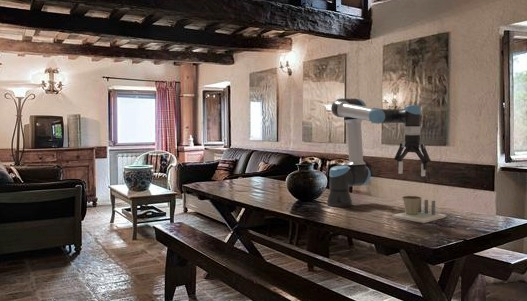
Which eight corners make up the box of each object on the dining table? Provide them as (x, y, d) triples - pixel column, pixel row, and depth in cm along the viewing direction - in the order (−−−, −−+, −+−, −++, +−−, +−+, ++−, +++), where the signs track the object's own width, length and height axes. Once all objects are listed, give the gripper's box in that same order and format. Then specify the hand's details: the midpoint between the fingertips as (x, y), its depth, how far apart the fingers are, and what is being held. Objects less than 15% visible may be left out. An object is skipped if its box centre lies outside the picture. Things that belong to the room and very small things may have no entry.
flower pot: (408, 216, 220) (408, 199, 220) (398, 212, 229) (398, 196, 229) (424, 214, 222) (424, 198, 222) (414, 211, 231) (414, 195, 231)
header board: (392, 217, 224) (392, 201, 224) (414, 212, 236) (414, 197, 236) (424, 222, 210) (424, 206, 209) (446, 217, 222) (446, 201, 222)
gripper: (388, 134, 234) (387, 173, 236) (430, 135, 214) (429, 177, 216) (396, 133, 239) (395, 171, 240) (438, 135, 219) (437, 176, 221)
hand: (411, 174), depth 228 cm, fingers open, 13 cm apart
